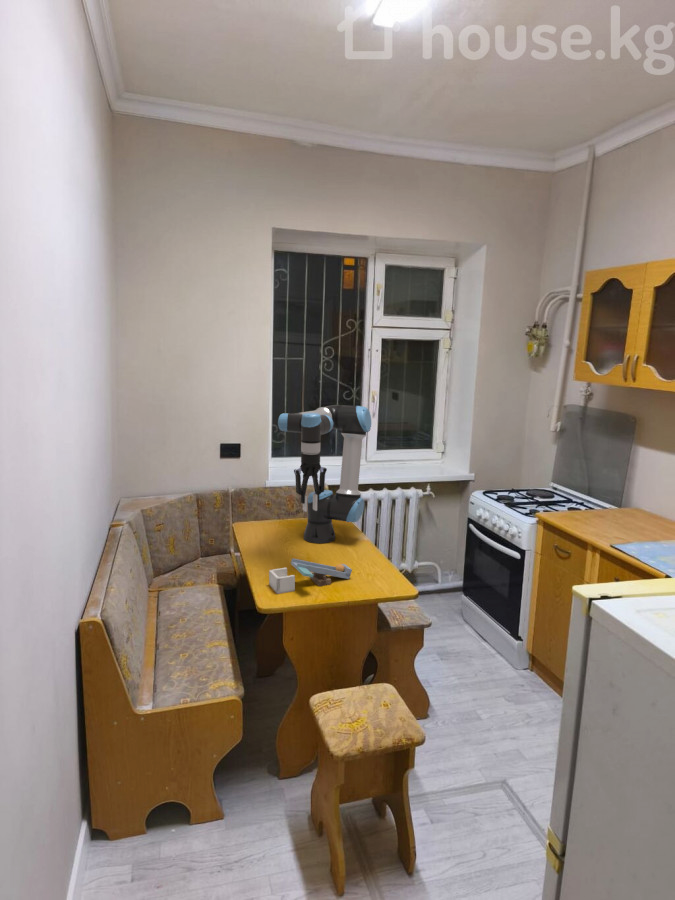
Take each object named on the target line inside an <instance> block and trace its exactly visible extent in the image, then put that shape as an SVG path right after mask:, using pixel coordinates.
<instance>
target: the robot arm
mask: <svg viewBox="0 0 675 900" xmlns="http://www.w3.org/2000/svg"><path fill="white" fill-rule="evenodd" d="M277 426H278V429H279V431H281V432H286V433H300V434H301V435H300V436H301V439H300V441H301V443H300V444H301V445H300V446H301V447H300V450H301V453H300V467H299V468H295V469H293V473H294V475H295V493H296V494H297V495H300V503H301V504H302V511H303V512H305V513H307V524H306V527H305V529H304V532H303V540H305V541H306V542H309V543H313V544H328V543H331V542H334V541H335V539H336V533H335V529H334V527H333V526H334V525H333V521H334V520H335V521H342V522H347V523H357V522H359V520H360V519H361V517H362V515H363V513H364V509H365V499H364V498H363V497H362V496H361V495H362V494H361V492H360V491H359V482H360V481H359V480H360V470H361V469H360V468H361V459H362V457H361V456H362V448H363V439H364V438H365V437H366V436H367V433H369V432H370V431H371V429H372V428H371V427H372V416H371V411H370V410H369V408H367V407H366V406H363V405H362V406H361V405H344V404H333V405H332V404H331V405H326V406H321V407H318V408H316V409H315V410H309V411H302V412H296V413H289V412H288V413H286V412H285V413H281V414H280V415H279V417H278V420H277ZM332 430H340V431H341V432H340V434H341V435H342V437H343V445H342V447H343V448H342V457H341V459H342V460H341V469H340V479H339V480H340V482H339V488H338V489H337V490H336V492H335V494H334V492H333V490H330V489H325V484H326V483H325V482H326V473H327V468H326V467H324V466H321V454H320V452H321V439H322V438H321V436H322V435H325V434H328V433H329V432H331V431H332ZM302 473H303V474H302ZM318 473H319V475H318ZM301 474H302V478H301ZM310 477H311V478H312V483H313V488H314V489H313V491H312V492H310V493H309V494H308V495H306V494H307V487H308V483H309V479H310ZM318 478H319V479H318ZM301 479H302V480H301Z"/></svg>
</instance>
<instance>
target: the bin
mask: <svg viewBox="0 0 675 900" xmlns="http://www.w3.org/2000/svg"><path fill="white" fill-rule="evenodd" d="M295 582H296V576H295V574H291V575H288V568H287V567H282V568H274V569H269V571H268V585H269V587H271V589H272V590H273V591H274V592H275V593H276V594H277V595H279V594H285V593H290V592H295V590H296V588H295V587H296V586H295V585H296V583H295Z"/></svg>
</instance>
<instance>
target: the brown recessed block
mask: <svg viewBox="0 0 675 900" xmlns="http://www.w3.org/2000/svg"><path fill="white" fill-rule="evenodd" d="M311 573H312V574H313V575H314V576H313V577H309V579H311V581H312V582H314V583H315V584H316V585H317V586H318V587H323V586H324V587H325V586H329V585H331V584H332V579H331V578H330V577H329V575H325V574H319V573H314V572H311Z"/></svg>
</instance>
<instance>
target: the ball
mask: <svg viewBox="0 0 675 900" xmlns="http://www.w3.org/2000/svg"><path fill="white" fill-rule="evenodd" d="M342 564H343V563H338V564H336V566H335V567H336V571H340V572H343V571H344V566H343V565H342Z"/></svg>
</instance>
